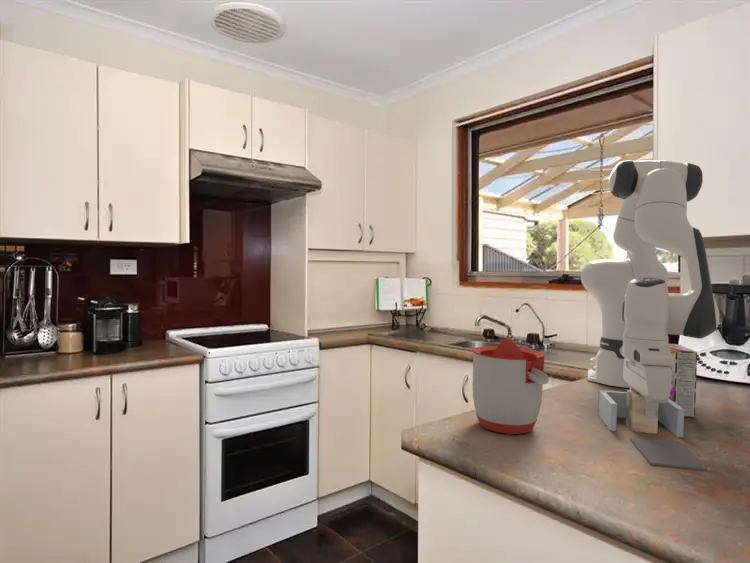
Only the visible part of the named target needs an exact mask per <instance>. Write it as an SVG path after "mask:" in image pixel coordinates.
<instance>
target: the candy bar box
mask: <svg viewBox="0 0 750 563" xmlns="http://www.w3.org/2000/svg"><path fill="white" fill-rule="evenodd" d="M668 346H669V349H670V351H671V353H672V354H673V356H674V358H675V364H674V366H670V368H671V372H672V377H671V388H670V396H669V399H670V400H672V401H673V402H674V403H676V404H677V405H679V406H680V407H681V408H683V409H684V418H696V401H697V400H696V399H697V394H696V393H697V372H698V370H697V368H698V366H697V365H698V352H697V351H695V350H694V349H691V348H689V347H686V346H683V345H681V344H679V343H668Z"/></svg>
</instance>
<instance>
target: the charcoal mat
mask: <svg viewBox="0 0 750 563" xmlns="http://www.w3.org/2000/svg"><path fill="white" fill-rule="evenodd" d="M629 440H630V441H632V442H631V443H632V444H633V445H634V446H635V448H636V449H637V450H638V451H639V453H640V454H641V455H642V456H643V457H644V459H645V460H646V461H647V463H649V465H651V466H659V467H667V468H679V469H685V470H686V469H687V470H696V471H704V472H706V471H707V468H706V467H705V466H704V464H703V463H701V461H700V460H698V459H697V458H696V457H695V456H694V455H693V454H691V452H689V451H688V450H687V449H686V448H685V447H684V446H683V445H682V444H680V443H679V442H675V441H665V440H656V439H644V438H635V437H633V438H632V437H629Z"/></svg>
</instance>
